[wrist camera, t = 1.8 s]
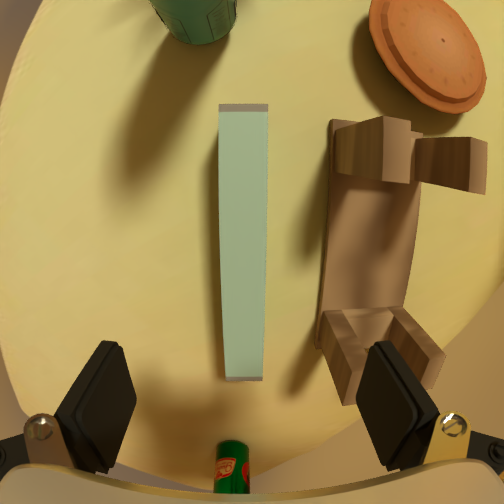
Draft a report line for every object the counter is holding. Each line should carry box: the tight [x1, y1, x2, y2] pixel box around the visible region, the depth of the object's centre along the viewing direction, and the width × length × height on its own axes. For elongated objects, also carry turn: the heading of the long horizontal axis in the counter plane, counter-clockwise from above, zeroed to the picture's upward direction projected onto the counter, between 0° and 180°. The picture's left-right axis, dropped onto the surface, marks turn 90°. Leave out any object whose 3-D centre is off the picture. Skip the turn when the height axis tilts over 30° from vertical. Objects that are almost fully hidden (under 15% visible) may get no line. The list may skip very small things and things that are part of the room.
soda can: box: [213, 440, 250, 494], centre depth 32 cm, size 5×5×12 cm
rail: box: [218, 104, 268, 381], centre depth 25 cm, size 4×24×6 cm, turn 0°
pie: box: [369, 0, 487, 114], centre depth 20 cm, size 16×16×5 cm
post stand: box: [314, 116, 487, 406], centre depth 23 cm, size 10×24×11 cm, turn 0°
